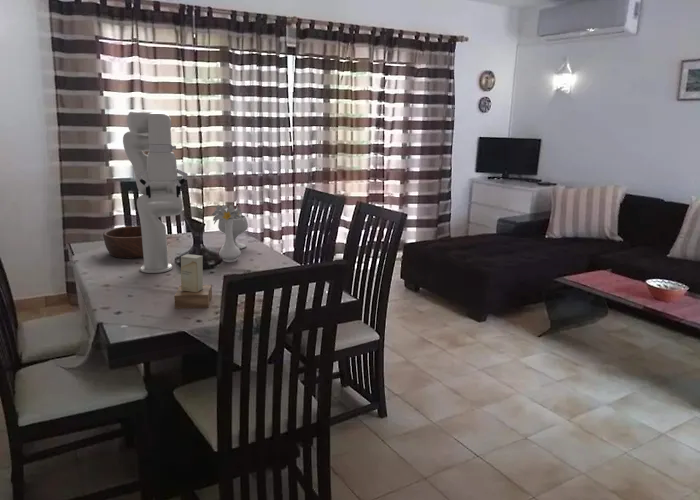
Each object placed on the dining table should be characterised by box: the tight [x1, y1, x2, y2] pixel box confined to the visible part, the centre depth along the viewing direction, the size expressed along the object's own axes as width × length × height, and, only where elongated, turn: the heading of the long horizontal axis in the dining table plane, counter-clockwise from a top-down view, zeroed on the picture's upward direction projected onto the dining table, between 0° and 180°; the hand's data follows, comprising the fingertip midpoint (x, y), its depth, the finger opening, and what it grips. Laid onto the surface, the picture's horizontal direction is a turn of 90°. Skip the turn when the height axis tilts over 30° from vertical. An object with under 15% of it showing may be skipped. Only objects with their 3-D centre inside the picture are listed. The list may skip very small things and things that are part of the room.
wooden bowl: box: [102, 225, 143, 259], centre depth 253 cm, size 25×25×10 cm
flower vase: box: [211, 204, 244, 263], centre depth 243 cm, size 13×18×25 cm
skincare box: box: [180, 253, 204, 292], centre depth 191 cm, size 6×4×12 cm
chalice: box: [217, 214, 249, 250], centre depth 267 cm, size 14×14×15 cm
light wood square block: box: [174, 284, 213, 310], centre depth 193 cm, size 11×11×5 cm
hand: (163, 197), depth 199 cm, fingers open, 9 cm apart
